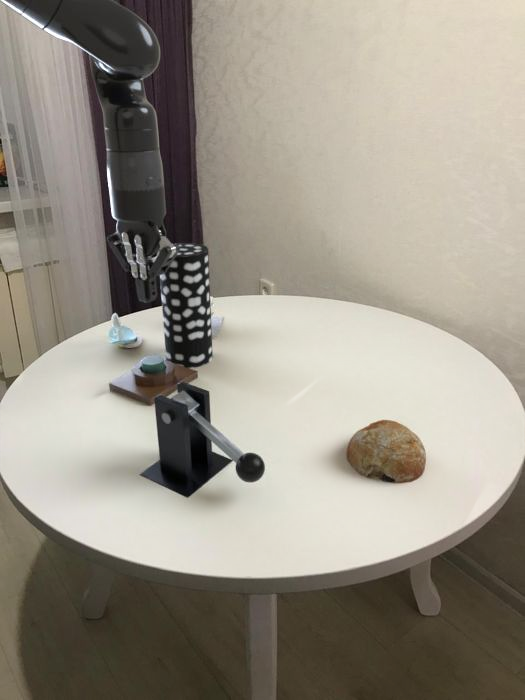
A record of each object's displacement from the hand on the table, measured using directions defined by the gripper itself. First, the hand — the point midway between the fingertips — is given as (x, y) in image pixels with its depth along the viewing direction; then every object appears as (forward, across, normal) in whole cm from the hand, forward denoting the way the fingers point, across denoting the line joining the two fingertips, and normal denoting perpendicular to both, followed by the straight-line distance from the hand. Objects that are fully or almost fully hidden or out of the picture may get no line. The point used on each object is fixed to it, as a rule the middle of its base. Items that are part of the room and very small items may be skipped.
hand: (147, 300), depth 89 cm
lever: (+9, -23, +14) cm, 29 cm away
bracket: (+15, -19, +14) cm, 28 cm away
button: (+12, 0, 0) cm, 12 cm away
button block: (+15, 0, 0) cm, 15 cm away
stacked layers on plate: (+16, +11, -24) cm, 31 cm away
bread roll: (+16, -39, -2) cm, 42 cm away
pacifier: (+16, +17, -10) cm, 25 cm away
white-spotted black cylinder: (+16, +3, -12) cm, 20 cm away
